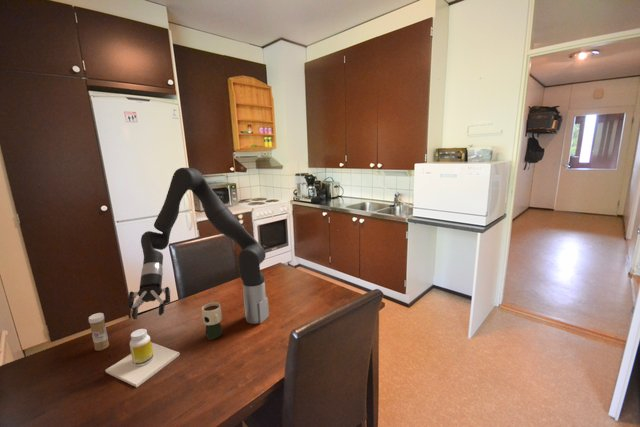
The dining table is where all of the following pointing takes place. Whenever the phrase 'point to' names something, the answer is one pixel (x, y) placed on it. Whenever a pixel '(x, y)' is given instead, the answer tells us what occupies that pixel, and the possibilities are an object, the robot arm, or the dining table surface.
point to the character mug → (212, 319)
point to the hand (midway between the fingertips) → (147, 316)
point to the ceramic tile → (141, 373)
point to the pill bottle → (141, 347)
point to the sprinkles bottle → (99, 331)
